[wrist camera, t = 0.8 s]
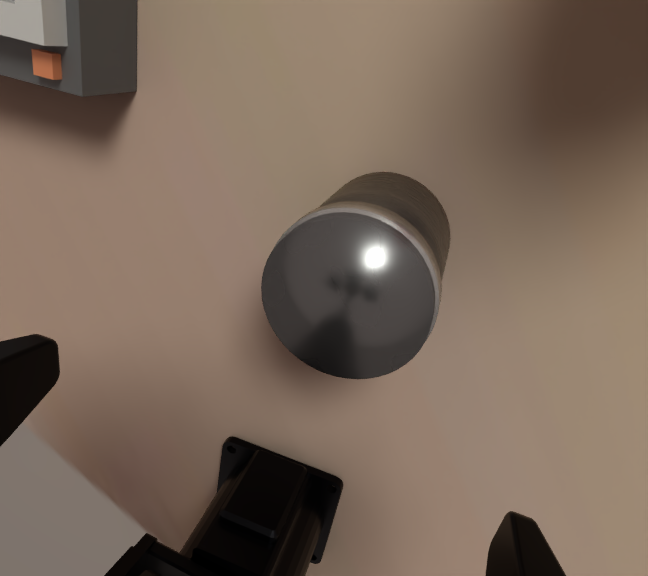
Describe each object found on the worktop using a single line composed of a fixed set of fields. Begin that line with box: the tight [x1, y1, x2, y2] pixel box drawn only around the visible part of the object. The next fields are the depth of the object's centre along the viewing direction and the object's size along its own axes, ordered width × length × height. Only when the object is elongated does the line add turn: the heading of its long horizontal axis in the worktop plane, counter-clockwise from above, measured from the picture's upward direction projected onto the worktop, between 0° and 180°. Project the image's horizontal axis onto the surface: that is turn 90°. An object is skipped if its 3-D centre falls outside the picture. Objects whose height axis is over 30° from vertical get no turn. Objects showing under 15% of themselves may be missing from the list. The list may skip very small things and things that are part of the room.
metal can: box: [261, 172, 450, 379], centre depth 17 cm, size 5×5×6 cm
